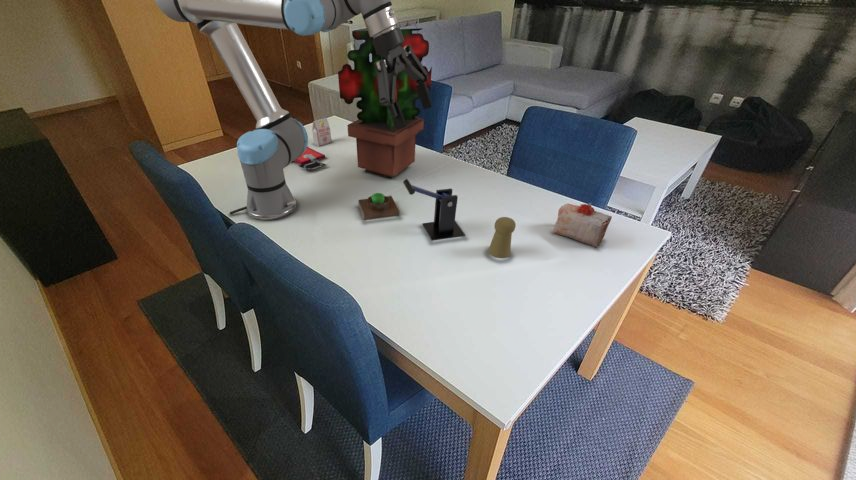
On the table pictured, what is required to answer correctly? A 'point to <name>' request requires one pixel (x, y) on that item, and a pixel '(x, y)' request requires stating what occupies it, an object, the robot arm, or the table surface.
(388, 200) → the switch block
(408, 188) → the lever
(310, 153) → the red board with handle
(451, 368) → the table surface
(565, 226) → the food item
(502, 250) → the tan pawn
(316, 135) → the white cardboard box
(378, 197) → the green button
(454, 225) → the lever bracket
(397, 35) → the robot arm
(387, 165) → the potted plant
